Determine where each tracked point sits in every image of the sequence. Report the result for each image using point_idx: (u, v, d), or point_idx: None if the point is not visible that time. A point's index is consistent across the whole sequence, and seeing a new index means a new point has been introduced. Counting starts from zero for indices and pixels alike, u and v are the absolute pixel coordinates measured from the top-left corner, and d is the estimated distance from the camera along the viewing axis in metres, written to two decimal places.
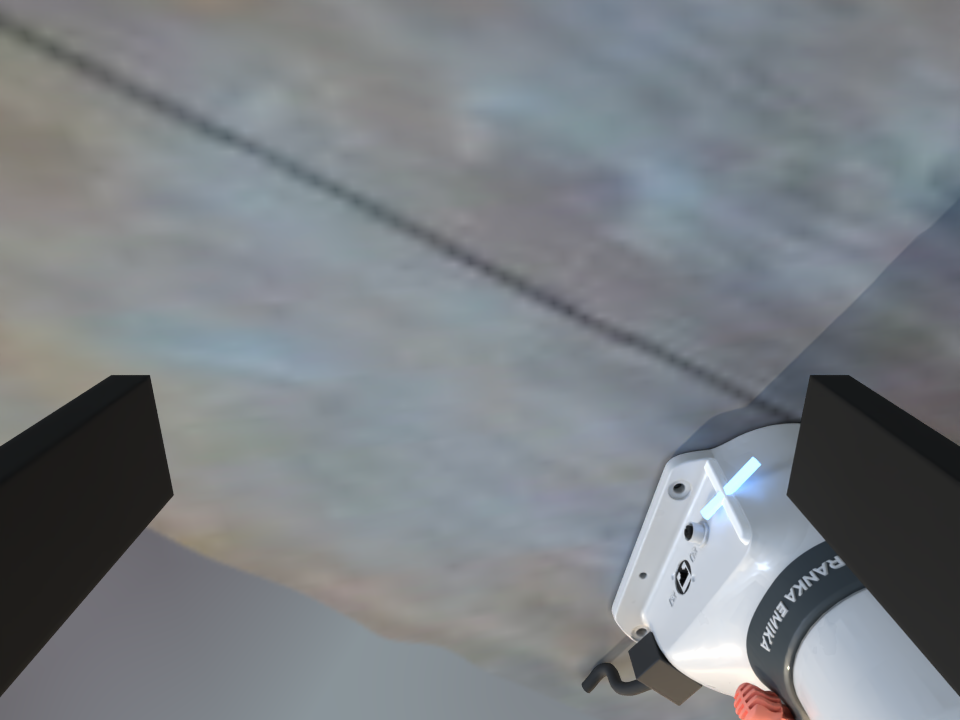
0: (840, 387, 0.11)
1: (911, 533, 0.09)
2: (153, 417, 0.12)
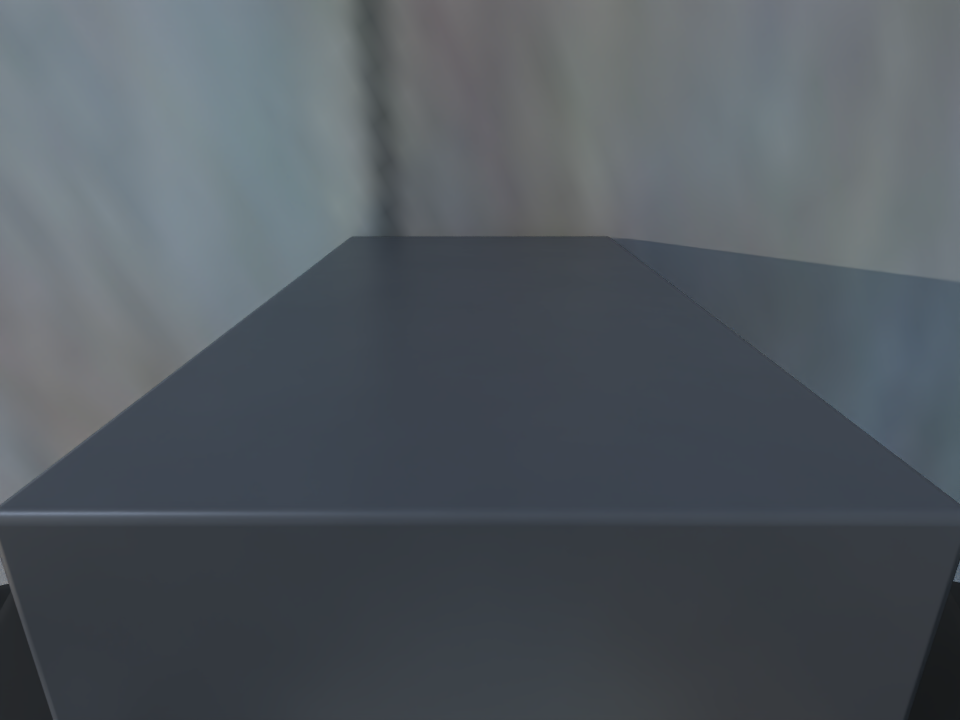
0: None
1: None
2: None
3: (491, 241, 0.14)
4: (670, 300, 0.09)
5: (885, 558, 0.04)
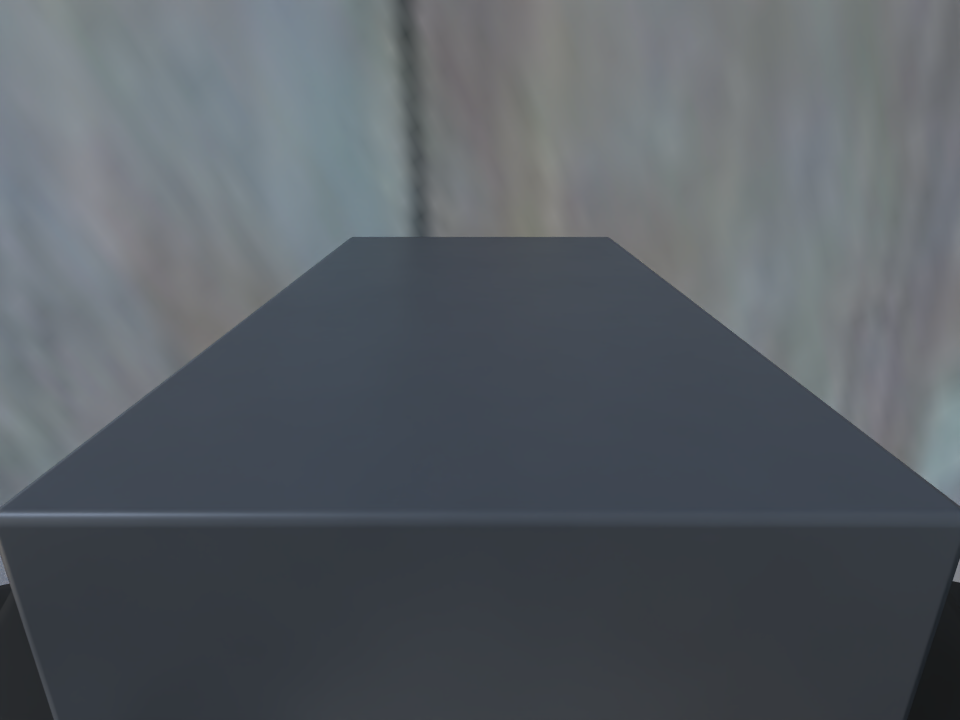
0: None
1: None
2: None
3: (491, 242, 0.14)
4: (670, 301, 0.09)
5: (883, 557, 0.04)
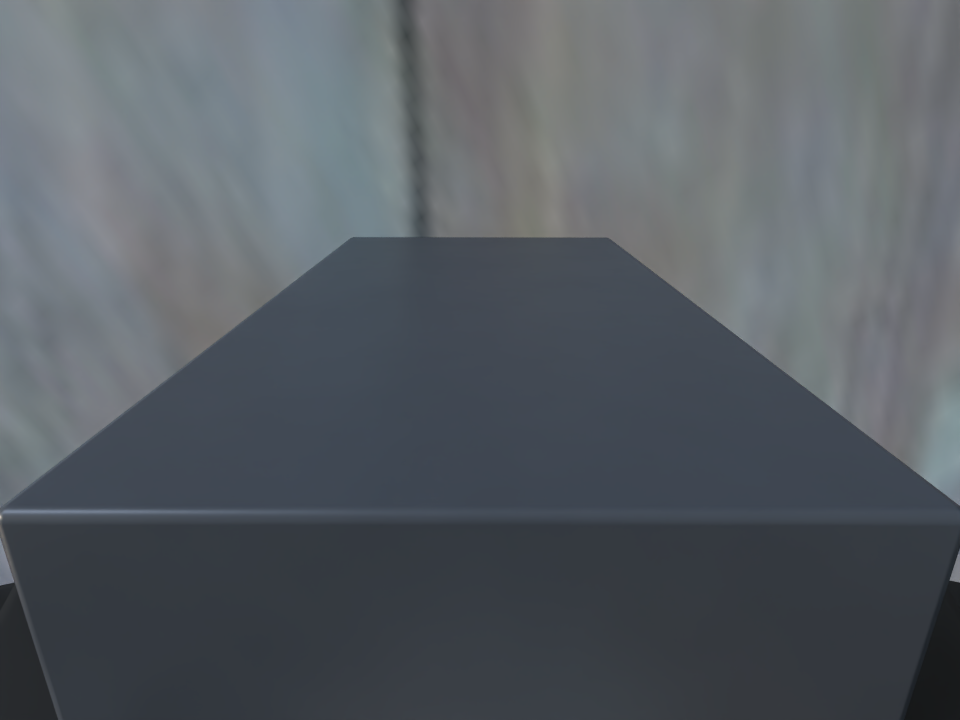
0: None
1: None
2: None
3: (491, 242, 0.14)
4: (669, 301, 0.09)
5: (883, 554, 0.04)
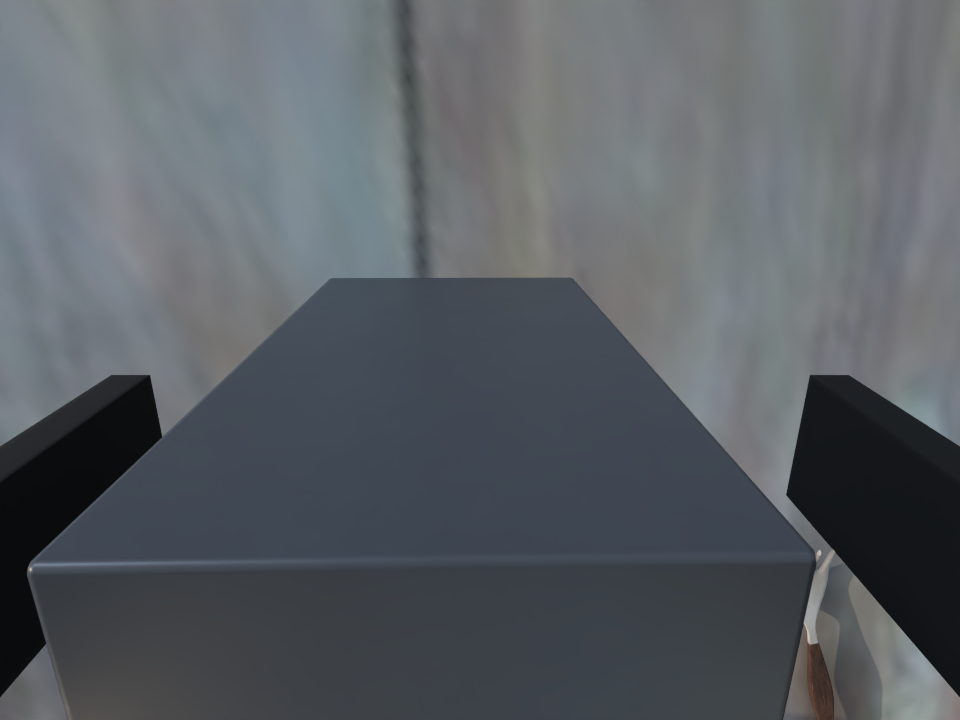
0: (840, 387, 0.11)
1: (911, 533, 0.09)
2: (153, 417, 0.12)
3: (462, 283, 0.15)
4: (615, 350, 0.10)
5: (751, 588, 0.05)
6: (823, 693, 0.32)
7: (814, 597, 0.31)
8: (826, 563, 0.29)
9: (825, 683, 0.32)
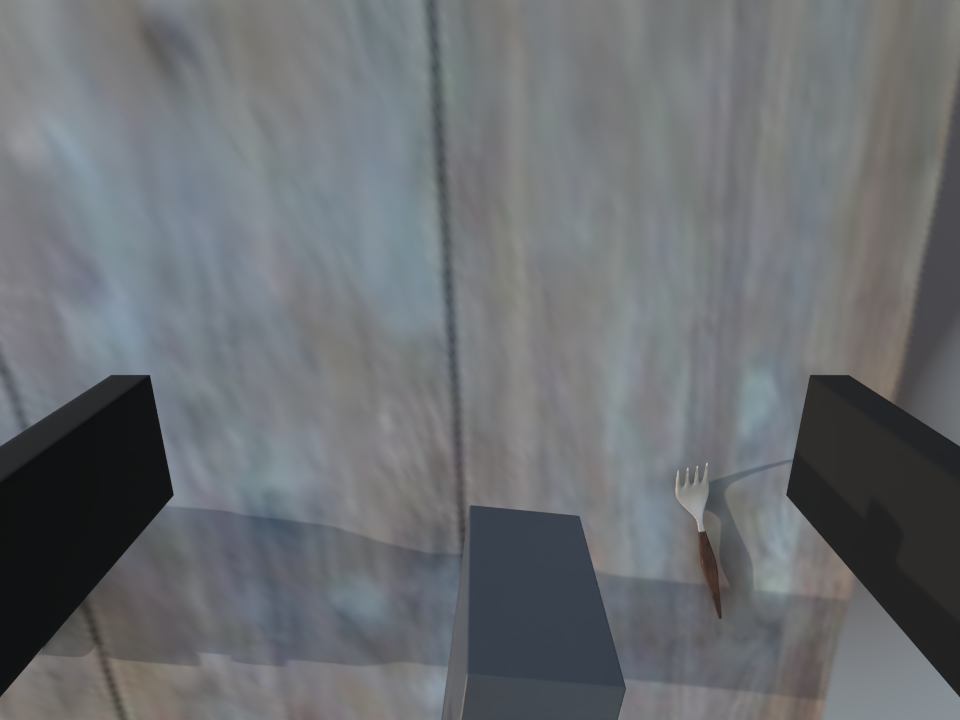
0: (840, 387, 0.11)
1: (911, 533, 0.09)
2: (153, 417, 0.12)
3: (530, 518, 0.34)
4: (592, 591, 0.29)
5: (611, 693, 0.24)
6: (710, 565, 0.49)
7: (701, 500, 0.47)
8: (705, 475, 0.46)
9: (711, 558, 0.49)
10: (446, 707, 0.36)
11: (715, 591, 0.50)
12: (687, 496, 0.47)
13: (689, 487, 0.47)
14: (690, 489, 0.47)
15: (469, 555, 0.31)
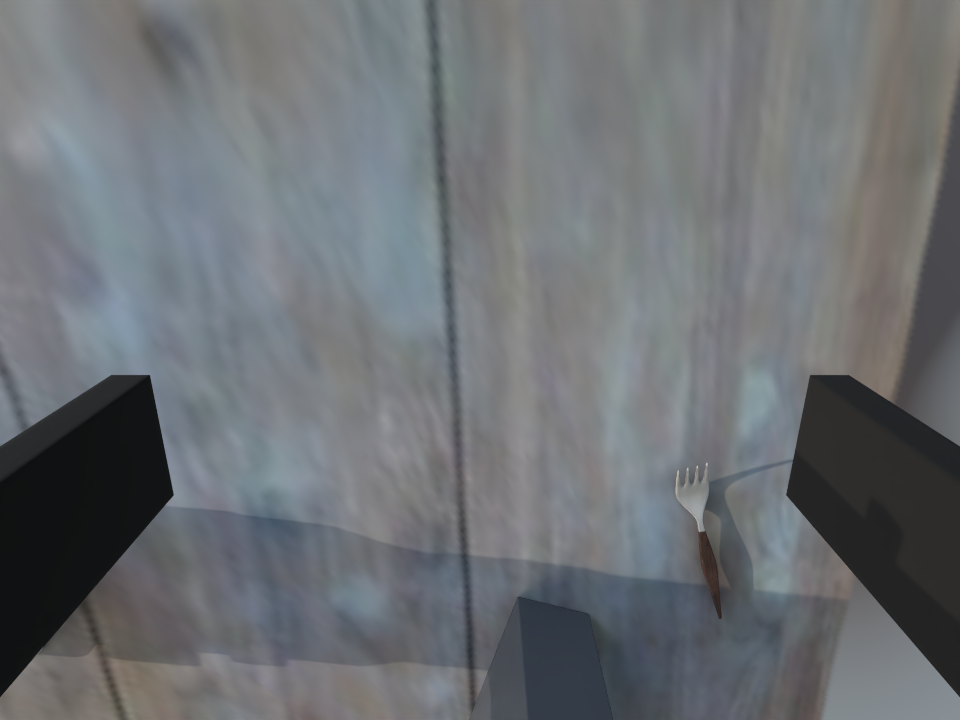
0: (840, 387, 0.11)
1: (911, 533, 0.09)
2: (153, 417, 0.12)
3: (557, 612, 0.51)
4: (598, 673, 0.46)
5: None
6: (710, 565, 0.49)
7: (701, 500, 0.47)
8: (705, 475, 0.46)
9: (711, 558, 0.49)
10: None
11: (715, 591, 0.50)
12: (687, 496, 0.47)
13: (689, 487, 0.47)
14: (690, 489, 0.47)
15: (521, 637, 0.47)
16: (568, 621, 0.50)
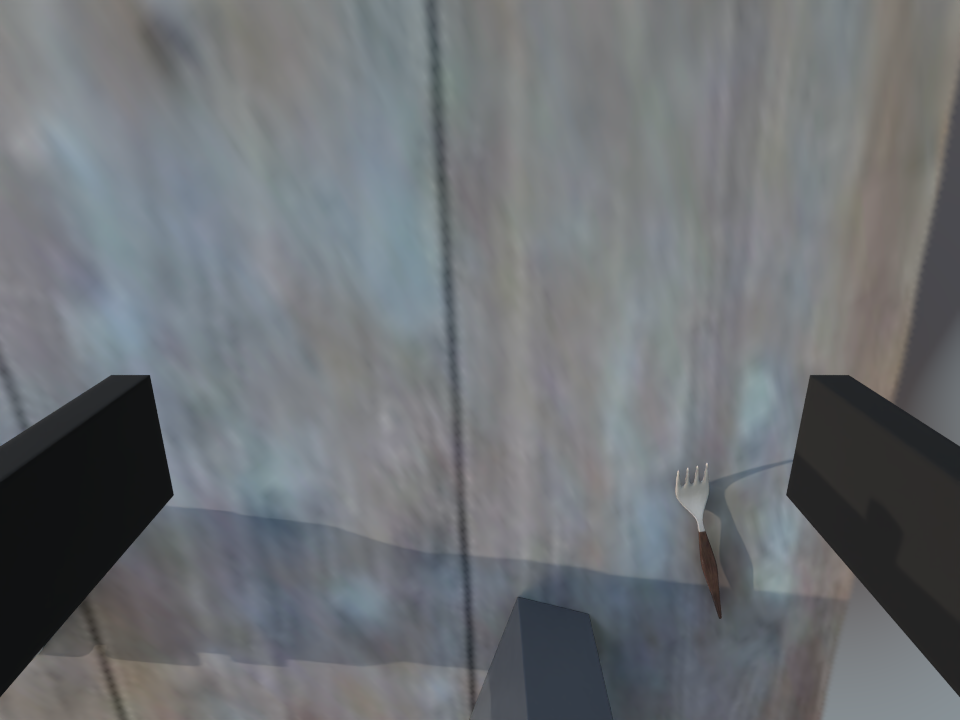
0: (840, 387, 0.11)
1: (911, 533, 0.09)
2: (153, 417, 0.12)
3: (557, 612, 0.51)
4: (598, 673, 0.46)
5: None
6: (710, 565, 0.49)
7: (701, 500, 0.47)
8: (705, 475, 0.46)
9: (711, 558, 0.49)
10: None
11: (715, 591, 0.50)
12: (687, 496, 0.47)
13: (689, 487, 0.47)
14: (690, 489, 0.47)
15: (521, 637, 0.47)
16: (568, 621, 0.50)
